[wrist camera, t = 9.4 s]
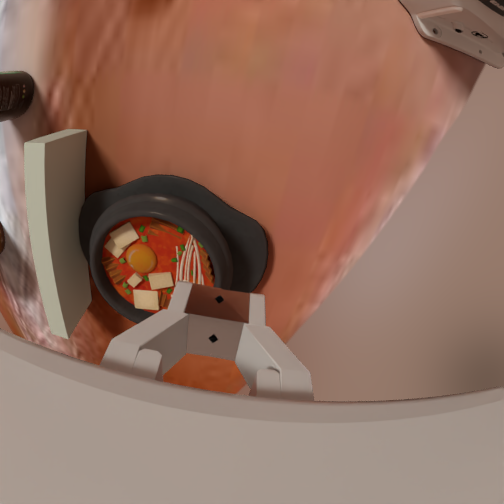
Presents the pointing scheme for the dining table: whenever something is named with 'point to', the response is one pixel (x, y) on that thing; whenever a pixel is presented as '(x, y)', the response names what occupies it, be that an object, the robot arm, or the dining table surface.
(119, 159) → the dining table surface
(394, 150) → the dining table surface
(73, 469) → the robot arm
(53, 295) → the board
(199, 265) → the casserole
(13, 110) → the supplement bottle
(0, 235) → the food container
